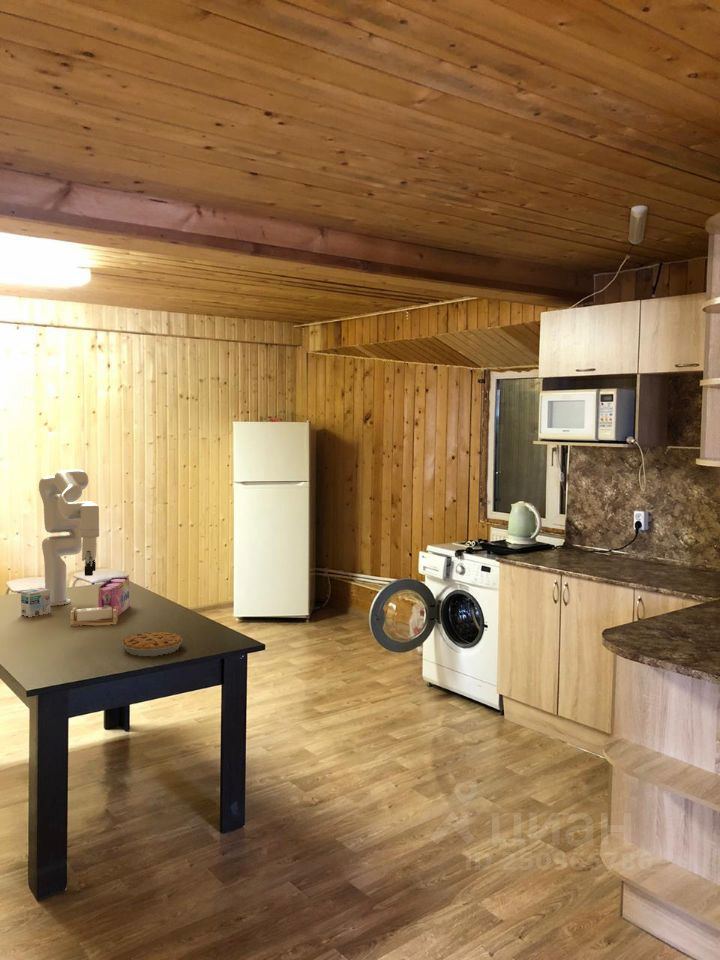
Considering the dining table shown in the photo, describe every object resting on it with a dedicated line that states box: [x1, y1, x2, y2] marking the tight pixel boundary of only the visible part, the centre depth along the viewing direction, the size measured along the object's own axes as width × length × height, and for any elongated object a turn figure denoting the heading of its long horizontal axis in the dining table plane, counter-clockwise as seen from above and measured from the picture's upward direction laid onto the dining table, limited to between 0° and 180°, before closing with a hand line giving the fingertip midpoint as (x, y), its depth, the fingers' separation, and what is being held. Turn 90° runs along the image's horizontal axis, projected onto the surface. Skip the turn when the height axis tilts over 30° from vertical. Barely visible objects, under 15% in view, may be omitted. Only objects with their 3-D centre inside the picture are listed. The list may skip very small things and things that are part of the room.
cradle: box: [69, 606, 119, 627], centre depth 335 cm, size 8×18×6 cm, turn 102°
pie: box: [121, 631, 183, 657], centre depth 297 cm, size 22×22×5 cm
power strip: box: [76, 606, 112, 621], centre depth 335 cm, size 4×14×4 cm, turn 114°
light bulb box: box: [20, 587, 52, 618], centre depth 349 cm, size 11×7×11 cm, turn 146°
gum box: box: [97, 577, 130, 616], centre depth 354 cm, size 24×8×14 cm, turn 1°
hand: (90, 573), depth 335 cm, fingers open, 9 cm apart
